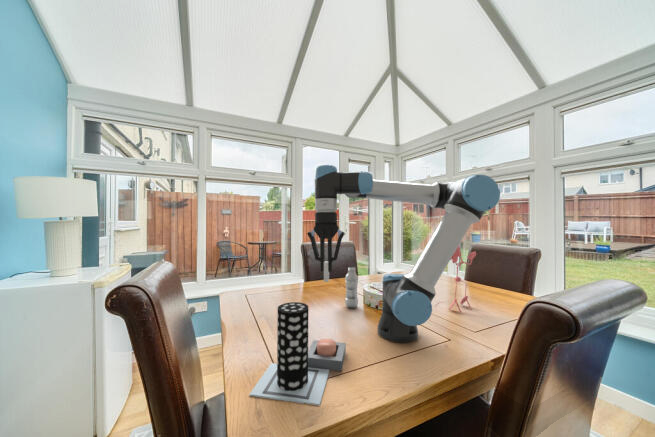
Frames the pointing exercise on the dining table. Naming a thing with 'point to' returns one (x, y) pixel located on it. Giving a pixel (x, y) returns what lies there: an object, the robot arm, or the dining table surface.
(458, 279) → the figurine
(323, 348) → the button
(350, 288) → the plastic bottle
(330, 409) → the dining table surface
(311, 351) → the button housing
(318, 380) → the drawing pad
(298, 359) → the white-spotted black cylinder
